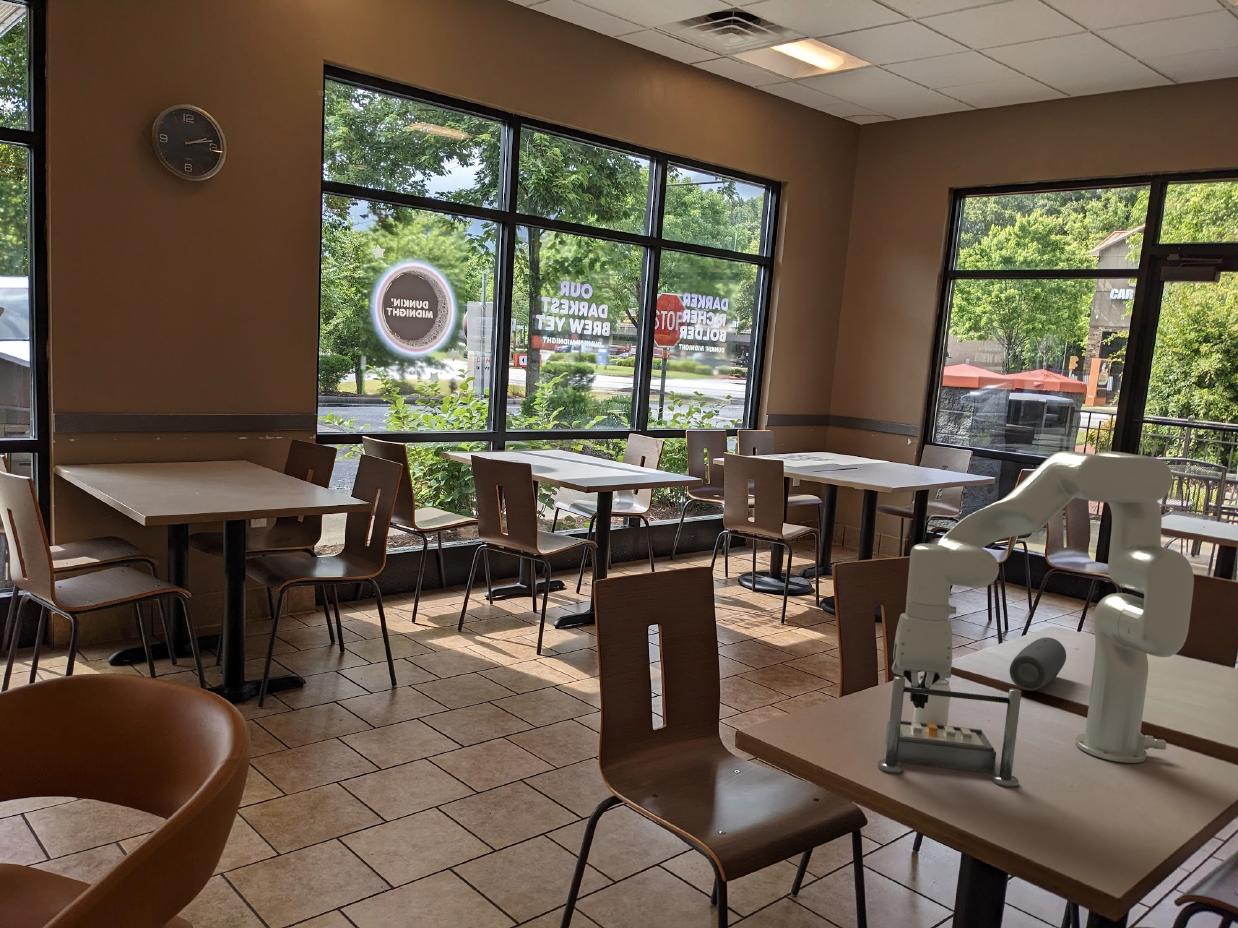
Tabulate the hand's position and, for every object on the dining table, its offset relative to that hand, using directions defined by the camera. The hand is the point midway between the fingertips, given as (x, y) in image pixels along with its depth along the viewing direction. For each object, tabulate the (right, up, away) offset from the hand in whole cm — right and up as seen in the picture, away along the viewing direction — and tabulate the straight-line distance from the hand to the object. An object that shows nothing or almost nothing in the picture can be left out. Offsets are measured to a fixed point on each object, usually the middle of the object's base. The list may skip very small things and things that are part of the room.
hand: (918, 705), depth 179 cm
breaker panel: (+4, -10, +1) cm, 11 cm away
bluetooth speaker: (+45, -8, +51) cm, 68 cm away
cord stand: (+3, -11, -8) cm, 13 cm away
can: (+5, -9, +10) cm, 15 cm away
